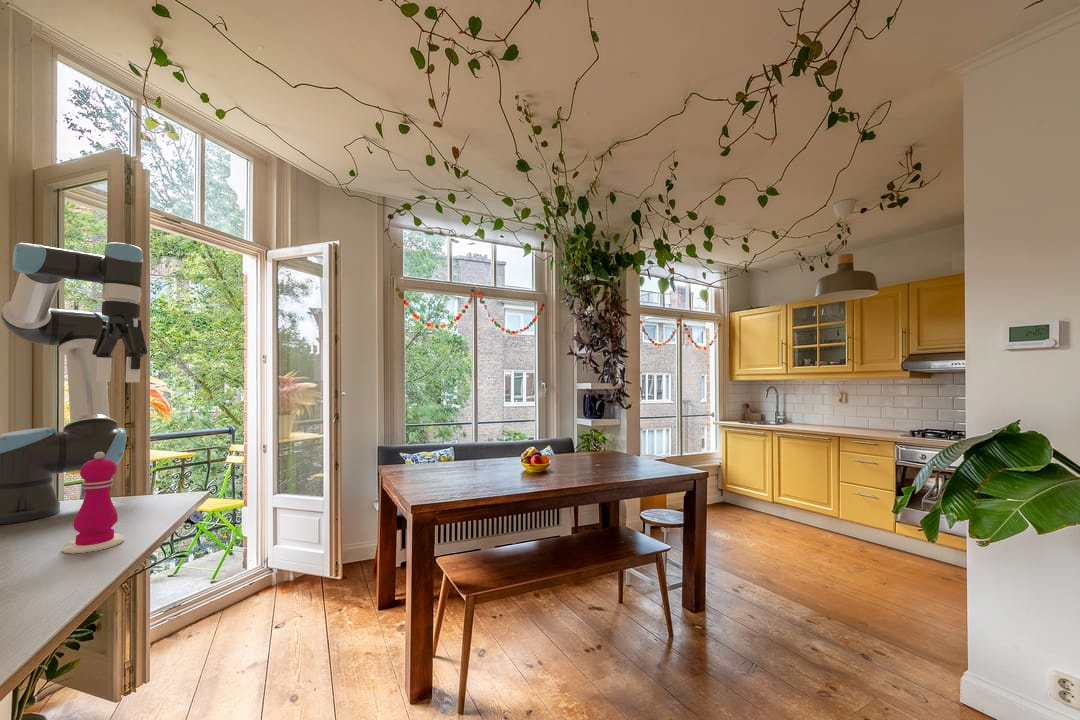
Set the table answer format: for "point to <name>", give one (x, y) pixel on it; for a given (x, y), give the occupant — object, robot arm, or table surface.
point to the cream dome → (74, 548)
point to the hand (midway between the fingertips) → (117, 382)
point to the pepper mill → (96, 502)
